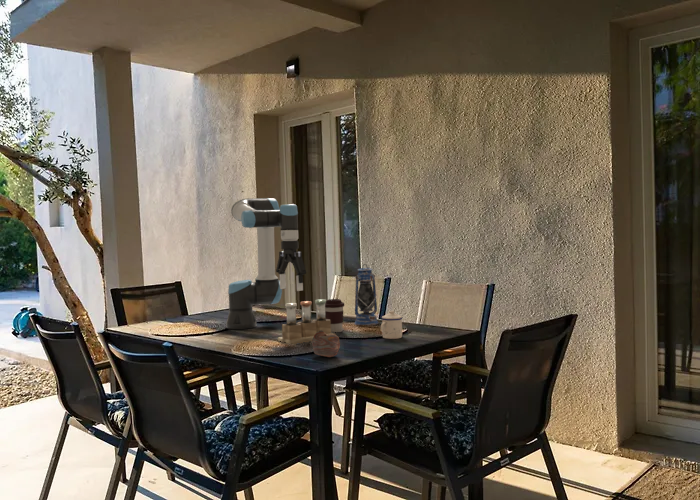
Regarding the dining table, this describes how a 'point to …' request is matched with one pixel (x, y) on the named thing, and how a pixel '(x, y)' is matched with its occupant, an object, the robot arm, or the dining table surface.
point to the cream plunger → (291, 313)
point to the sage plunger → (320, 309)
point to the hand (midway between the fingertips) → (291, 289)
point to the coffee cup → (334, 314)
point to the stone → (325, 344)
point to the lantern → (365, 297)
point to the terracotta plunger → (306, 311)
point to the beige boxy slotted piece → (304, 331)
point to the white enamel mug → (391, 326)
